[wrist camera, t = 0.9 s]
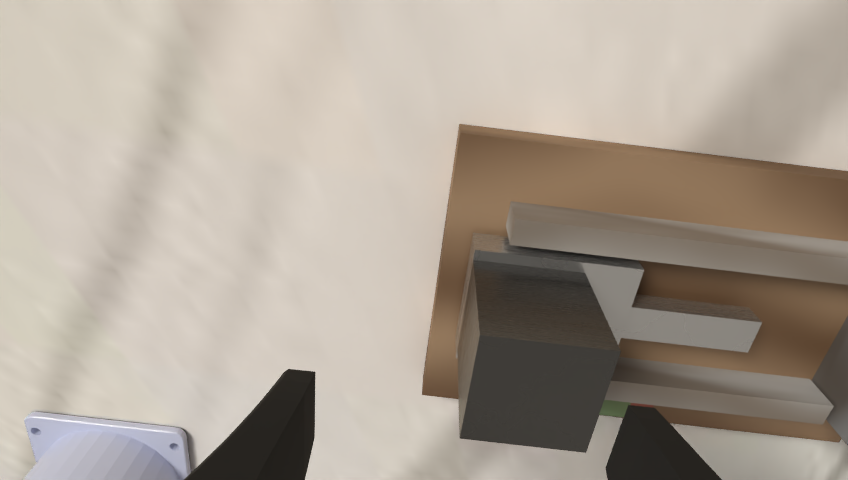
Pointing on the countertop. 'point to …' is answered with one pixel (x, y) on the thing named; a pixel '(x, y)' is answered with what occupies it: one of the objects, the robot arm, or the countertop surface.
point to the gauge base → (673, 268)
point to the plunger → (562, 339)
